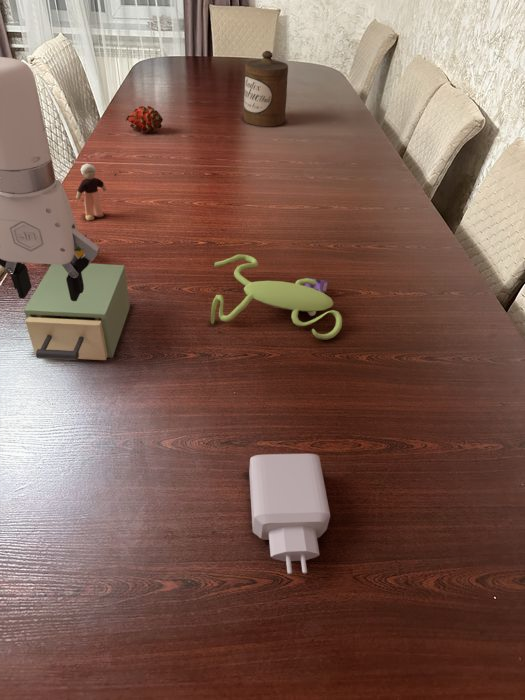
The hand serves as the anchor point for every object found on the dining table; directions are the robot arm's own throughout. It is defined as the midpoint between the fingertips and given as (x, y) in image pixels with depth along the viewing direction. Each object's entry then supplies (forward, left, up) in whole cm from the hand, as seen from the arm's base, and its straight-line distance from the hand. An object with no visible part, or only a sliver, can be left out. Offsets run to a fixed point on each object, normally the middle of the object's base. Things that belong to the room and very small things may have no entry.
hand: (51, 293), depth 75 cm
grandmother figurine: (-9, +53, -15) cm, 56 cm away
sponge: (-10, +33, -15) cm, 38 cm away
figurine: (+33, +20, -15) cm, 42 cm away
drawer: (0, +6, -14) cm, 15 cm away
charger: (+35, -27, -15) cm, 46 cm away
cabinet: (0, +10, -15) cm, 18 cm away
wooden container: (+31, +134, -15) cm, 139 cm away
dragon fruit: (-8, +114, -15) cm, 116 cm away
